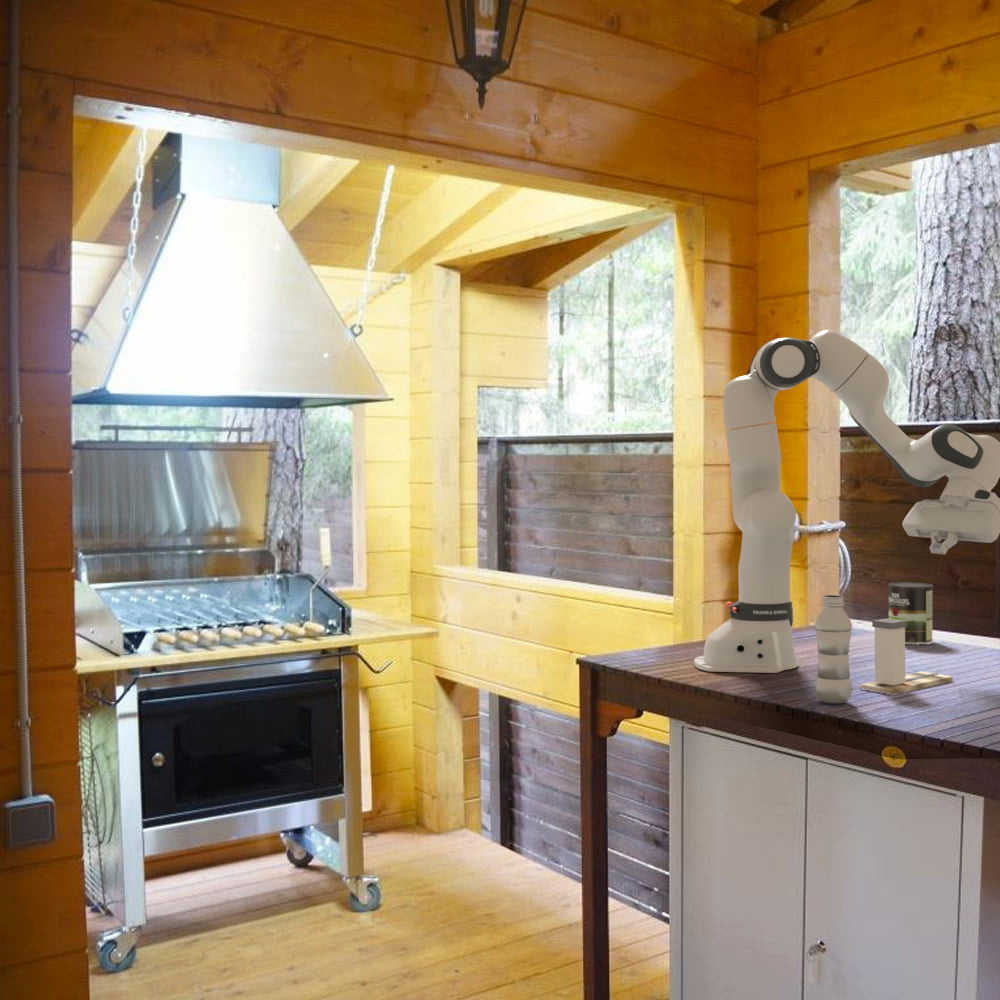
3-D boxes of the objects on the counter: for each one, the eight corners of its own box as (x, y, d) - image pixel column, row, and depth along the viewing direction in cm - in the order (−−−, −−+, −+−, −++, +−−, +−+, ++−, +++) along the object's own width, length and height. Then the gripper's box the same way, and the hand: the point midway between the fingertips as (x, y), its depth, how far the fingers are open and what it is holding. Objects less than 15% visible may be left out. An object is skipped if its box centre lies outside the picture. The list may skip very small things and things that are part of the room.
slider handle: (887, 679, 222) (886, 618, 221) (907, 682, 218) (907, 620, 218) (872, 682, 219) (872, 620, 219) (893, 685, 215) (892, 623, 215)
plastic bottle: (823, 697, 212) (822, 593, 212) (858, 702, 208) (857, 595, 207) (809, 703, 207) (808, 596, 207) (844, 708, 203) (843, 599, 202)
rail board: (922, 676, 230) (922, 670, 230) (952, 681, 225) (952, 675, 225) (860, 689, 219) (860, 683, 219) (891, 695, 213) (891, 689, 213)
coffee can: (910, 646, 266) (910, 587, 265) (879, 640, 275) (878, 583, 274) (942, 642, 270) (942, 584, 269) (910, 637, 279) (910, 581, 279)
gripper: (912, 489, 244) (886, 538, 239) (1003, 494, 228) (977, 546, 223) (924, 508, 247) (898, 556, 242) (1013, 514, 231) (988, 566, 226)
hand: (936, 552), depth 232 cm, fingers closed
